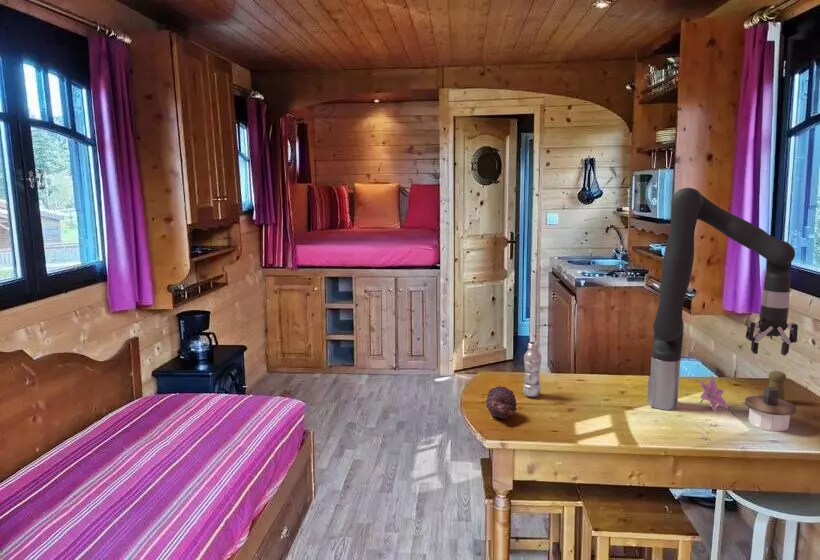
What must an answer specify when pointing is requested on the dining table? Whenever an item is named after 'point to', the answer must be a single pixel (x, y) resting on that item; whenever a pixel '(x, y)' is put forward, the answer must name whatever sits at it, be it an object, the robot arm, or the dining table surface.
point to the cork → (778, 382)
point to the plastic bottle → (532, 370)
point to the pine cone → (501, 402)
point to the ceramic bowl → (769, 421)
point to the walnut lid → (770, 403)
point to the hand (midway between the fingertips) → (769, 354)
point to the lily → (713, 394)
